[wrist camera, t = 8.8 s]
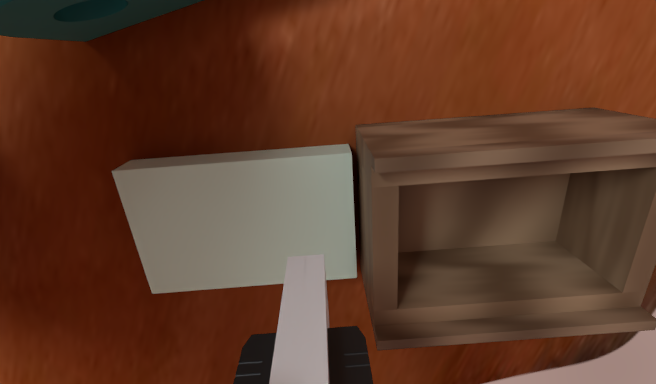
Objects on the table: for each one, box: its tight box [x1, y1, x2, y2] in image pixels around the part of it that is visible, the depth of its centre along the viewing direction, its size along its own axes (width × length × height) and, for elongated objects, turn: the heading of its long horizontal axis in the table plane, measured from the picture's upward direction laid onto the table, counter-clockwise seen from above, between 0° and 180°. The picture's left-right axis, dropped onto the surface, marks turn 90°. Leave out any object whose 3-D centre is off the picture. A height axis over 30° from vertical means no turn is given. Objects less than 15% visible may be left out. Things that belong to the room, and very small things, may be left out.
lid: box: [112, 144, 357, 294], centre depth 21 cm, size 13×8×2 cm, turn 94°
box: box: [356, 108, 656, 350], centre depth 18 cm, size 14×10×7 cm
